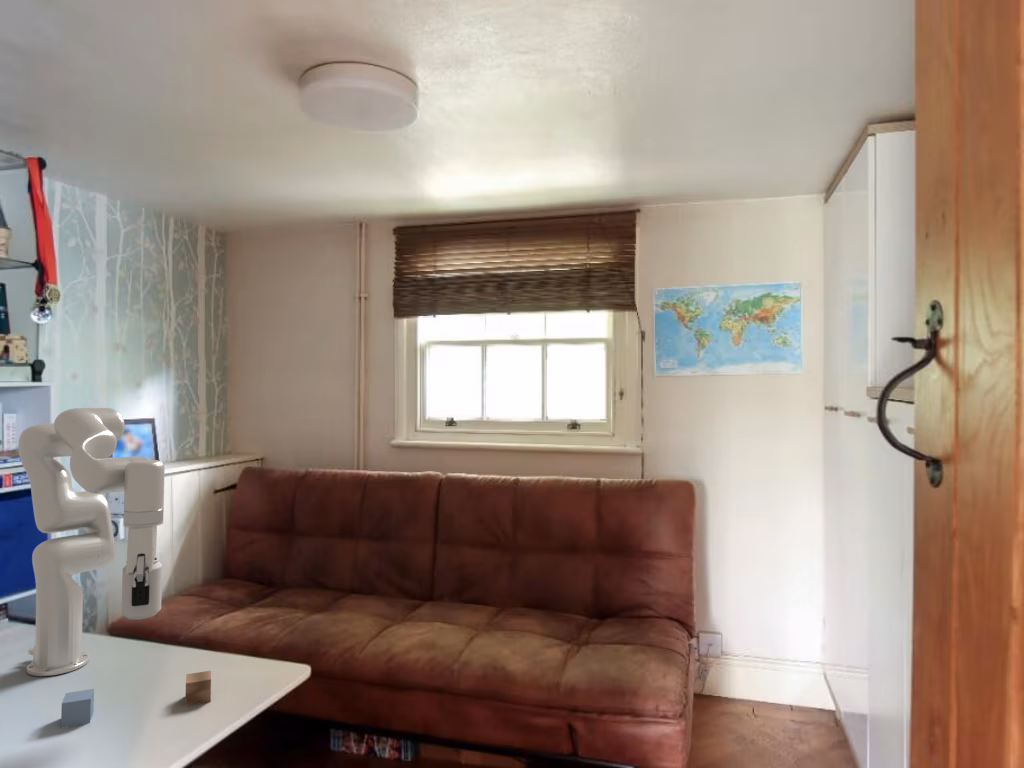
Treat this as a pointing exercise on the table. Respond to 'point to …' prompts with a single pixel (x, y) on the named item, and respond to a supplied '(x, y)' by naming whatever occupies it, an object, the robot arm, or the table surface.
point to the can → (154, 593)
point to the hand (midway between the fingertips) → (141, 598)
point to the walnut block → (198, 688)
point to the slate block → (77, 707)
